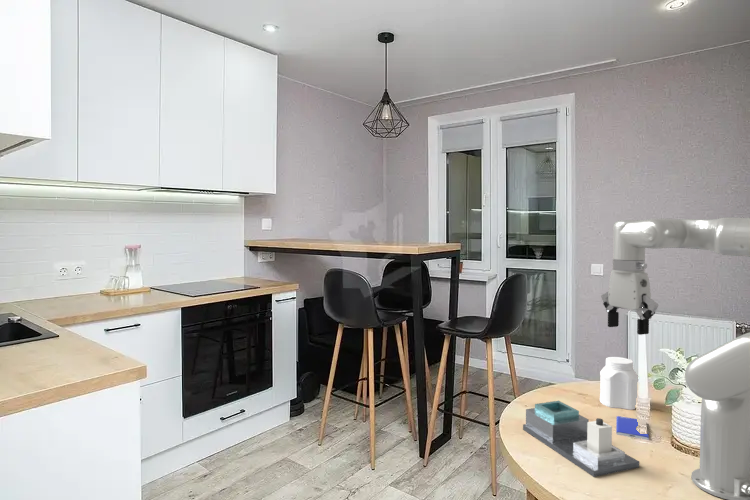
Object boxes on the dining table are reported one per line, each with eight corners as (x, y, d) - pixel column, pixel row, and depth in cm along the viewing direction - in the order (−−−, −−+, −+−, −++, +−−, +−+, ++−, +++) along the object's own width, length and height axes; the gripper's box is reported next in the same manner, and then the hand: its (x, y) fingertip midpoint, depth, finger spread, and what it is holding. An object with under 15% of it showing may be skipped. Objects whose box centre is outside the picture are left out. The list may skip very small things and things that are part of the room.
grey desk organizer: (639, 467, 116) (639, 435, 115) (593, 477, 111) (594, 444, 111) (562, 423, 142) (562, 397, 142) (523, 429, 138) (523, 403, 138)
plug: (611, 457, 118) (612, 421, 117) (598, 459, 117) (599, 423, 116) (599, 450, 122) (600, 415, 121) (587, 452, 121) (587, 417, 120)
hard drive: (616, 415, 145) (616, 431, 134) (646, 420, 142) (649, 436, 131) (616, 420, 145) (616, 436, 134) (646, 425, 142) (648, 442, 131)
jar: (601, 406, 155) (601, 362, 155) (598, 396, 164) (599, 354, 164) (640, 411, 151) (641, 365, 151) (635, 400, 160) (636, 357, 160)
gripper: (668, 268, 117) (667, 336, 117) (613, 263, 133) (613, 323, 134) (645, 269, 114) (644, 338, 115) (592, 264, 131) (591, 325, 131)
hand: (627, 330), depth 124 cm, fingers open, 9 cm apart
